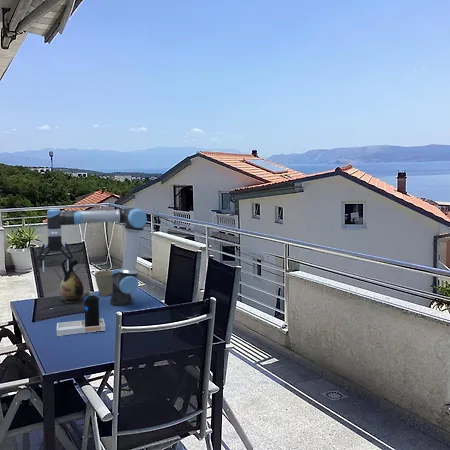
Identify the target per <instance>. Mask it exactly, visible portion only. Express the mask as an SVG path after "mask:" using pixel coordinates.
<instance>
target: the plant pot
mask: <svg viewBox="0 0 450 450" xmlns="http://www.w3.org/2000/svg"><path fill="white" fill-rule="evenodd" d="M112 271H113V270H99V271H96V272H95V273H94V278H95V282H96V287H97V291H98V292H99V295H100V296H102V297H108V295H109V296H111V295H112Z"/></svg>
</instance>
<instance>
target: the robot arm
mask: <svg viewBox="0 0 450 450" xmlns="http://www.w3.org/2000/svg"><path fill="white" fill-rule="evenodd" d="M147 222H148V217H147V214H146V213H145V211H143V210H142V209H141V208H135V207H127V208H116V209H115V210H69V209H67V210H64V211H61V209H58V208H57V209H56V208H55V209H54V208H53V209H48V210H47V211H46V226H47V235H48V236H47V244H45V243H42V245H41V246H42V248H41V250H40V252H39V253H38V256H37V258H36V260H37V261H39V263H40V264H39V265H40V267H42V273H45V260H44V259H46V257H47V256H48V255H49V253H50V252H61V253H62V254H63V256H64V257H65V258H67V261H66V266H67V268H66V271H69V265H70V264H71V263H70V261H71V260H73V259H74V255H73V253H72V252H71V250H70V248H69V247H68V243H67V242H65V243H62V226H71V225H73V226H75V225H81V224H82V223H116V224H123V225H124V229H125V231H126V236H125V244H124V251H123V258H122V264H121V265H122V266H121V267H122V268H116V269H112V270H111V271H112V293H111V295H110V298H109V304H110V305H111V306H116V307H123V306H124V305H125V306H129V305H132V304H133V303H134V298H133V296H132V293H135V292H136V291H137V289H138V287H139V279H138V271H137V270H136V268H137V263H138V262H137V261H138V254H139V247H140V246H139V245H140V240H141V239H140V238H141V234H142V232H144V228H145V227H144V226H146V224H147ZM62 247H63V248H65V250H66V251H64V249H63V248H62ZM46 248H48V249H47V251H46V252H45V253H44V254H43V252H44V250H45V249H46ZM67 253H68V254H67ZM42 255H43V256H42ZM131 303H132V304H131ZM128 304H129V305H128ZM125 306H124V307H125Z"/></svg>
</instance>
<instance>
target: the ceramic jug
mask: <svg viewBox="0 0 450 450" xmlns="http://www.w3.org/2000/svg"><path fill="white" fill-rule="evenodd" d="M67 259H68V258H67V257H65V258H62V260H61V261H60V262H61V268H62V269H61V270H62V271H63V274H64V277H63V278H62V280H61V282H60V286H59V295H60V298H62V299H63V300H64V302H65V304H67V303H68V304H74V303H75V304H77V303H79V302H80V300H81V298H82V296H83V294H84V292H85V291H84V289H85V288H84V285H83V282H82V280H81V278H80V277H79V276H78V274H76V272H75V271H74V267H75V266H77V265H78V264H79V261H77V260H76V259H71V260H70V263H71V264H70V265H69V271H67V265H66V266H65V263H67Z"/></svg>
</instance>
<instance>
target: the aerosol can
mask: <svg viewBox="0 0 450 450" xmlns="http://www.w3.org/2000/svg"><path fill="white" fill-rule="evenodd" d="M83 302H84V303H83V304H84V307H83V308H84V320H85V327H91V326H100V325H99V319H100V298H99V297H98V296H97V295H94V291H89V295H88V296H85V298H84V299H83Z"/></svg>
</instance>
